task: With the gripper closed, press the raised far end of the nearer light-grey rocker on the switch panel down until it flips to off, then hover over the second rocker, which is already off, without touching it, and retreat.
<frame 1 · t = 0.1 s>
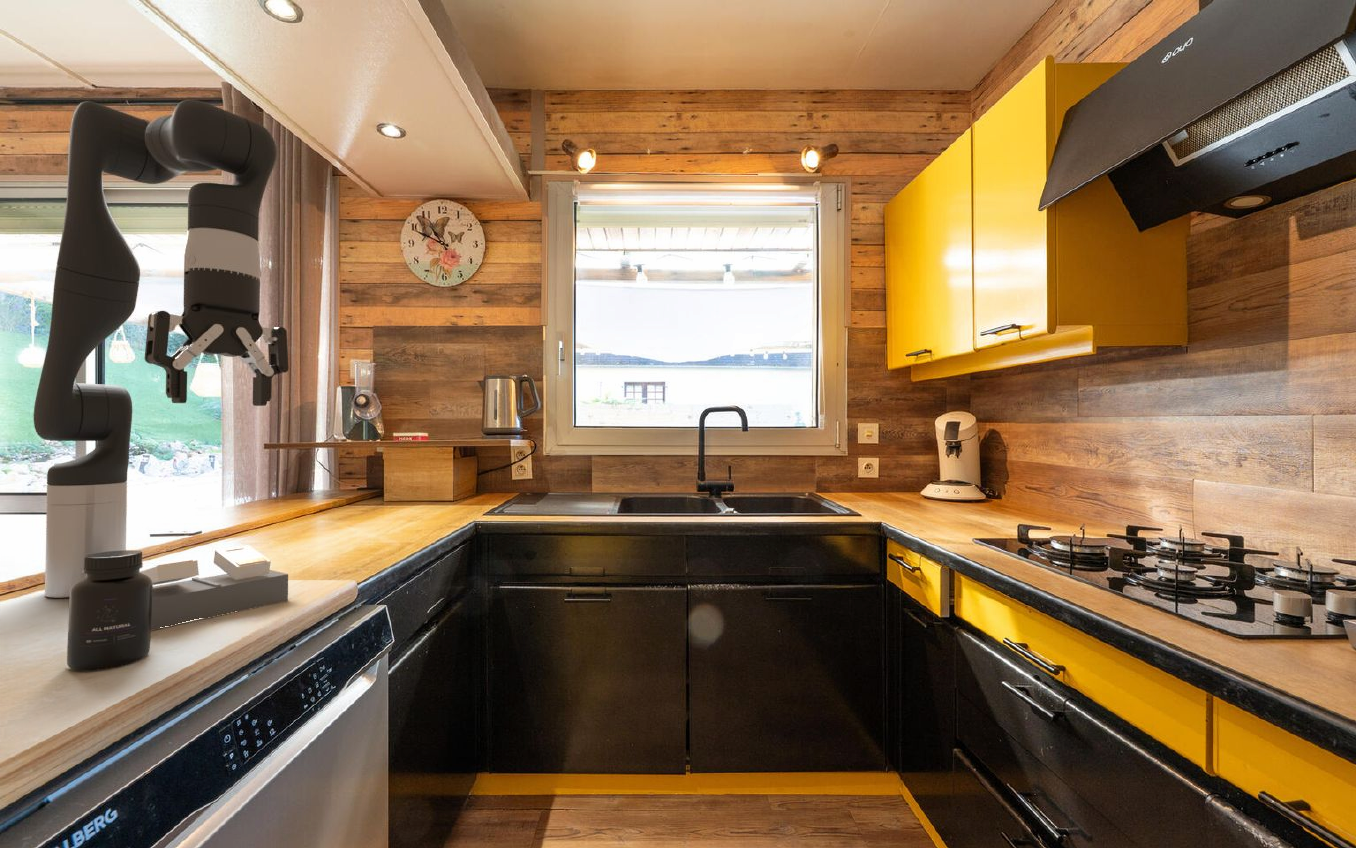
hand: (221, 404, 74), 29 cm above the table, tool pointing down, fingers open, 8 cm apart
switch panel: (205, 611, 86), on the table
supplement bottle: (110, 663, 68), on the table
rocker B: (242, 561, 90), point 6 cm above the table, hinge at 14.0°
rocker A: (167, 573, 82), point 6 cm above the table, hinge at -14.0°
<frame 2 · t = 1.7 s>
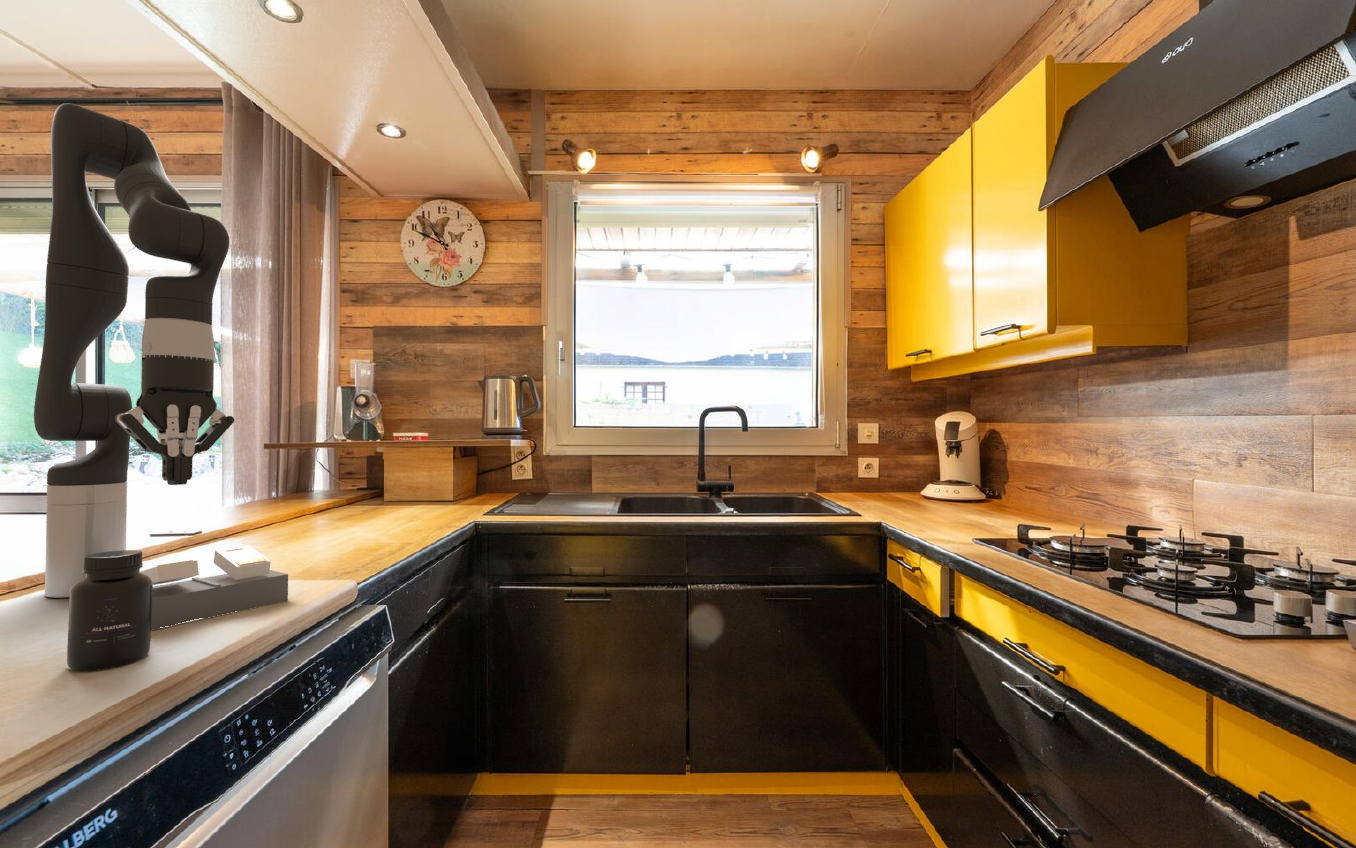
hand: (176, 484, 81), 19 cm above the table, tool pointing down, fingers closed
nothing on the table moved.
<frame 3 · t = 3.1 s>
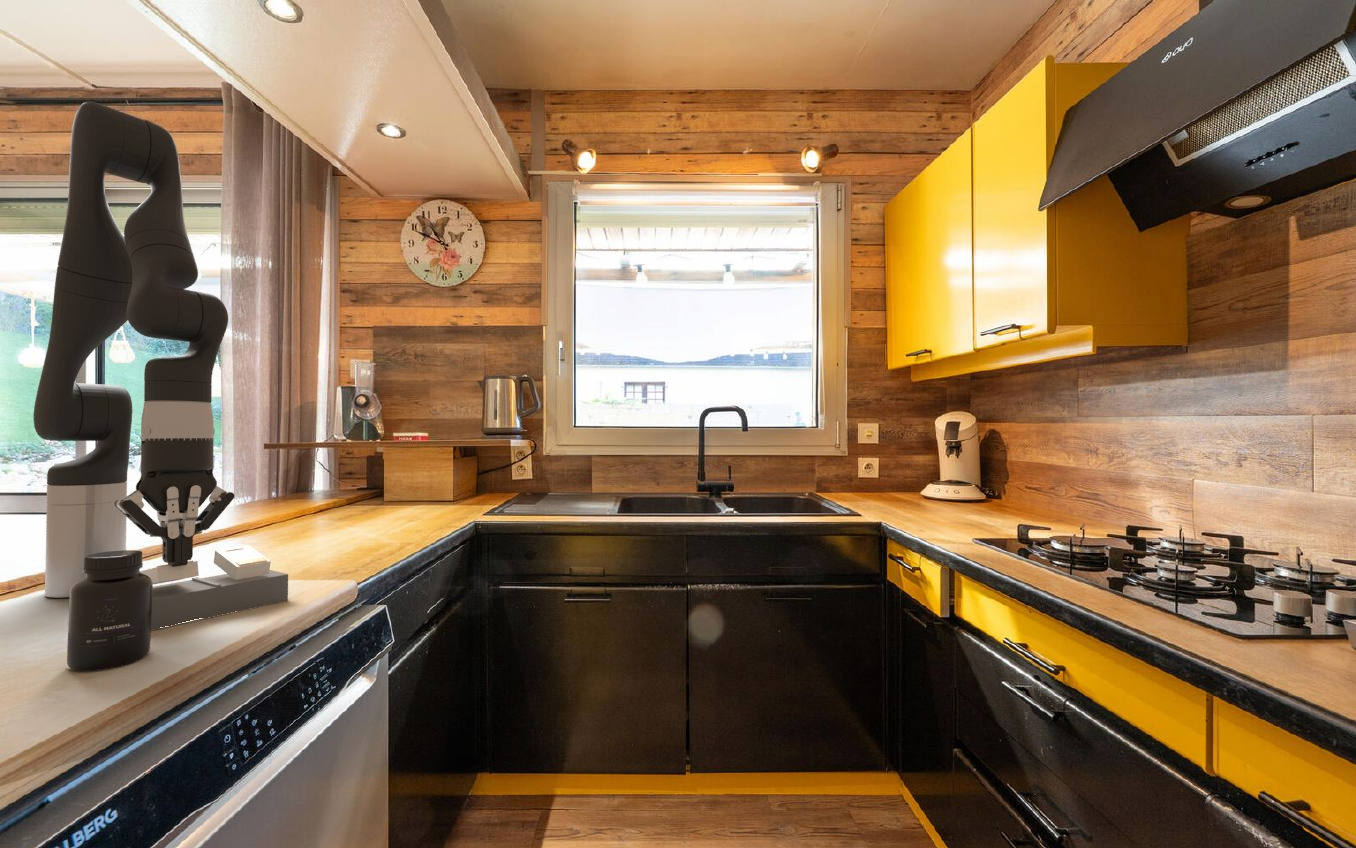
hand: (177, 565, 81), 8 cm above the table, tool pointing down, fingers closed
rocker A: (167, 573, 82), point 6 cm above the table, hinge at -12.6°, touching gripper
everything else where it was.
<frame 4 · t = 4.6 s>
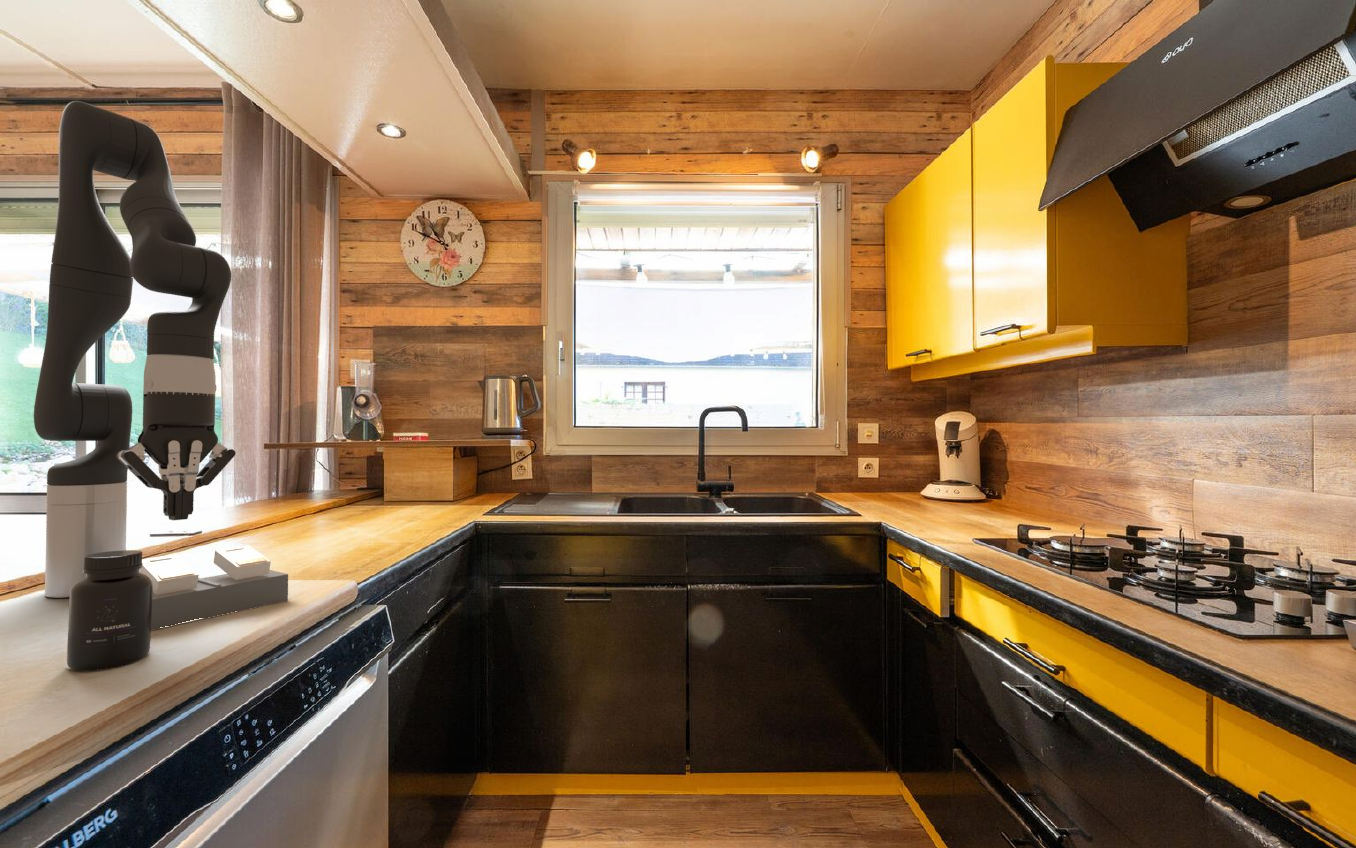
hand: (178, 519, 81), 14 cm above the table, tool pointing down, fingers closed
rocker A: (167, 573, 82), point 6 cm above the table, hinge at 16.8°
everything else where it was.
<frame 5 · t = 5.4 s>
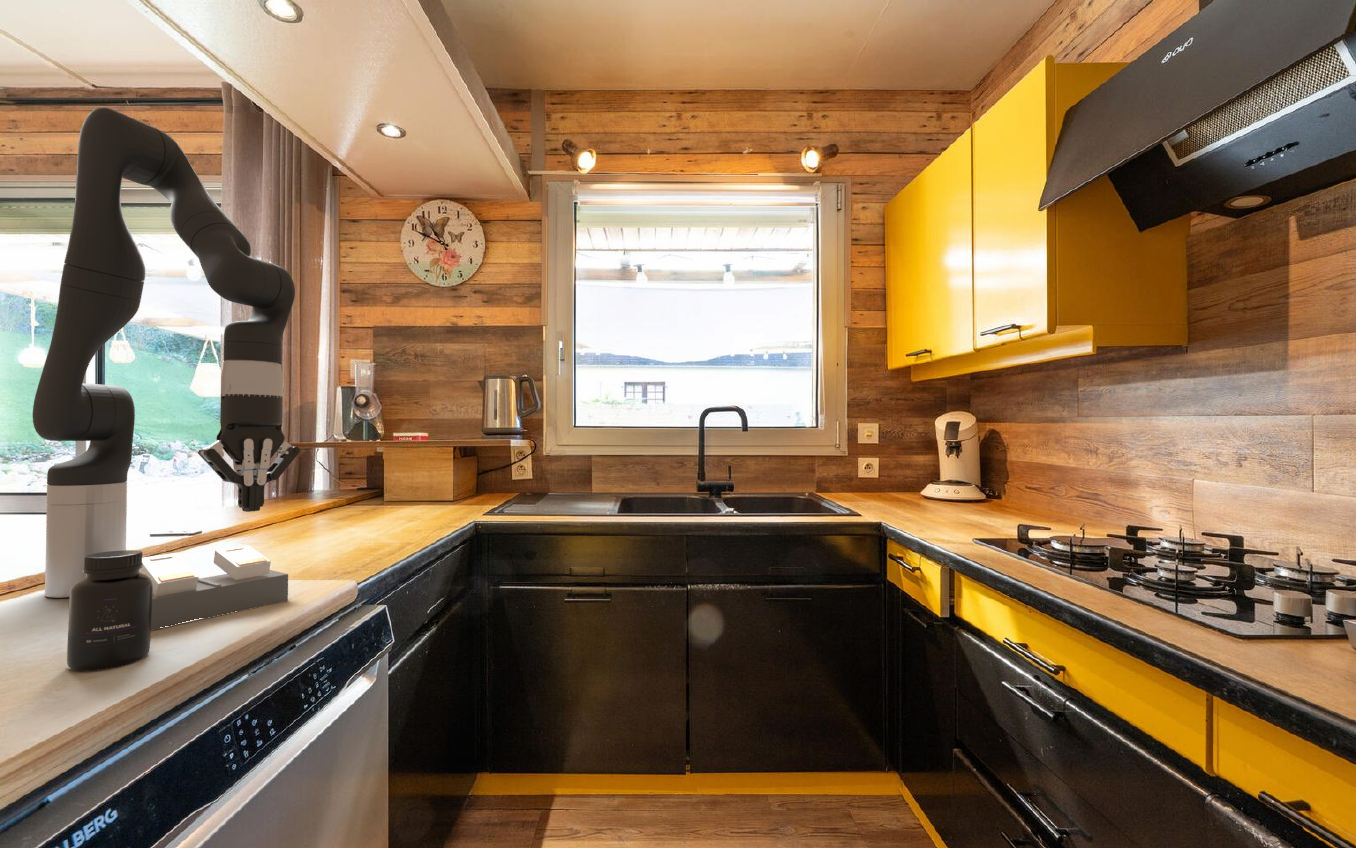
hand: (250, 510, 89), 14 cm above the table, tool pointing down, fingers closed
rocker A: (167, 573, 82), point 6 cm above the table, hinge at 21.7°, touching switch panel
everything else where it was.
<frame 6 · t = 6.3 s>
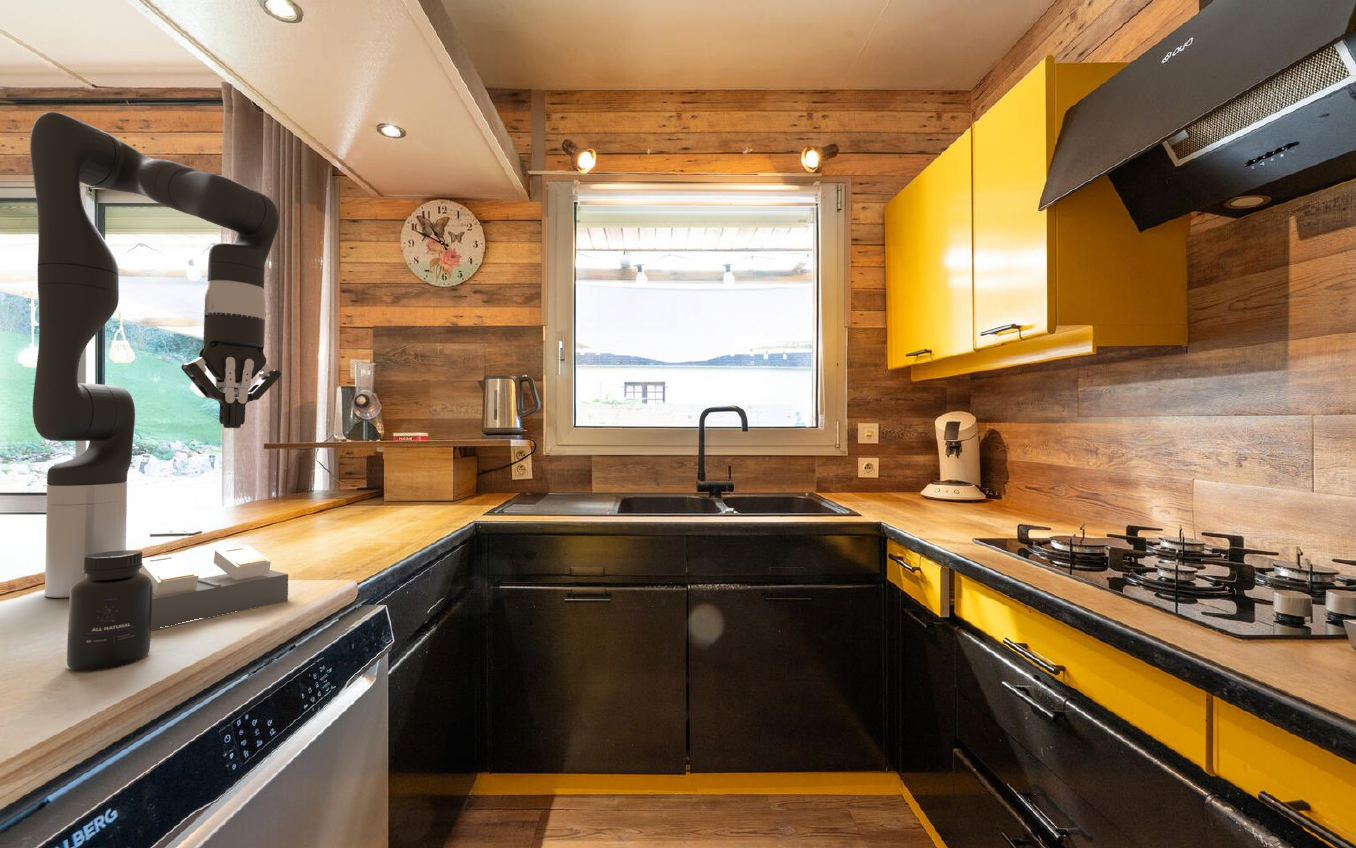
hand: (231, 427, 92), 26 cm above the table, tool pointing down, fingers closed
rocker A: (167, 573, 82), point 6 cm above the table, hinge at 19.2°
everything else where it was.
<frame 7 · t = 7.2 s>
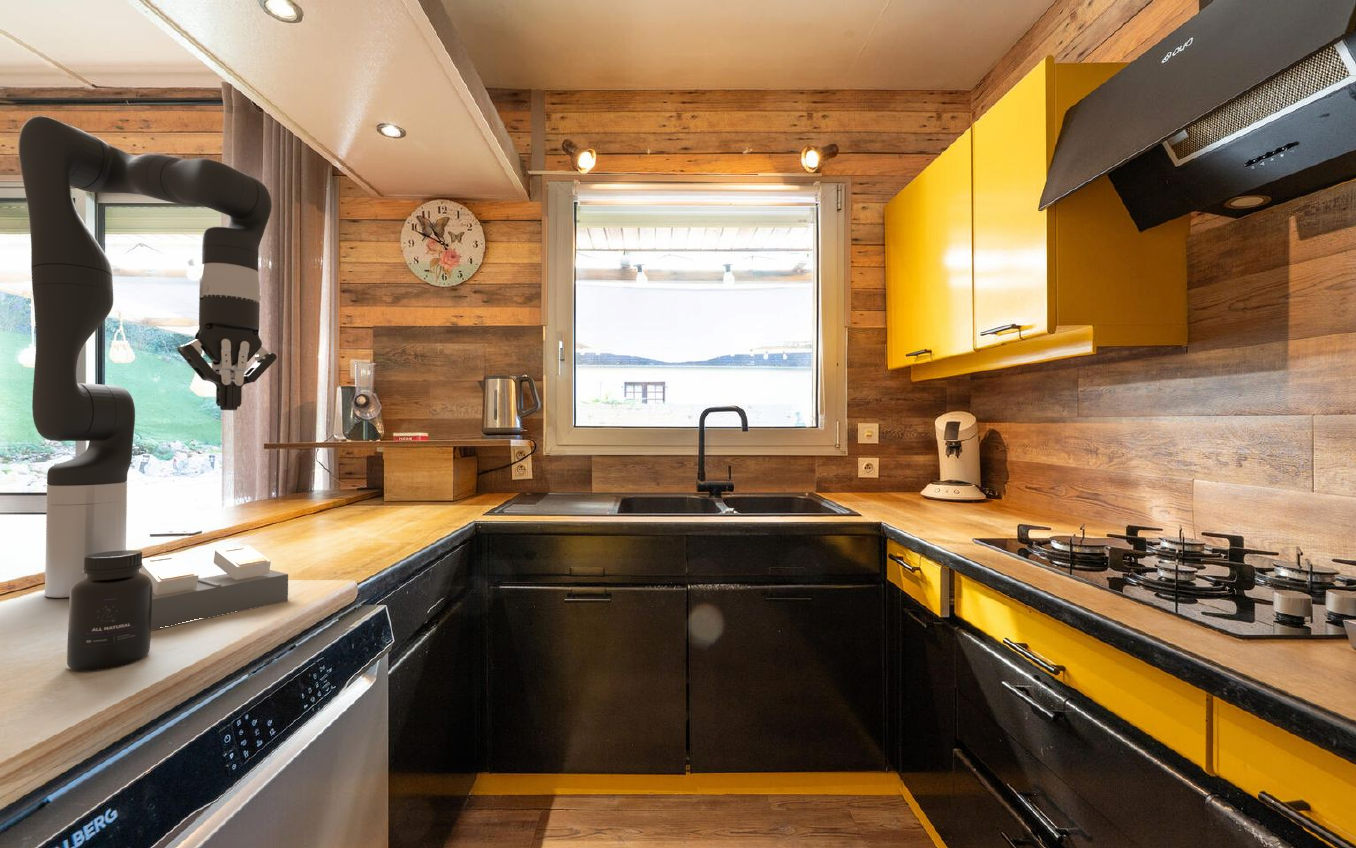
hand: (228, 410, 93), 29 cm above the table, tool pointing down, fingers closed
rocker A: (167, 573, 82), point 6 cm above the table, hinge at 17.9°
everything else where it was.
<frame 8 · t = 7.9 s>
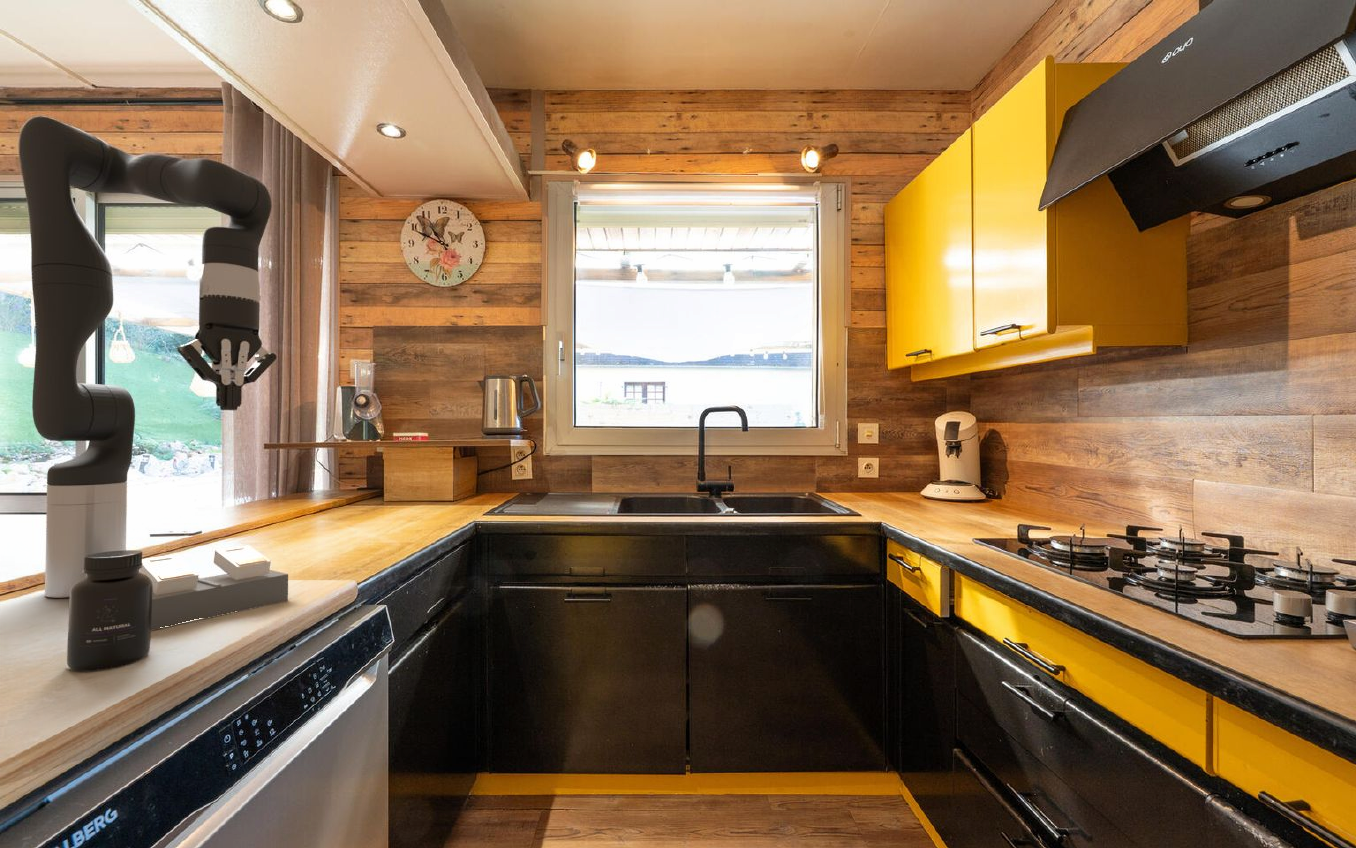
hand: (228, 410, 93), 29 cm above the table, tool pointing down, fingers closed
rocker A: (167, 573, 82), point 6 cm above the table, hinge at 17.4°
everything else where it was.
at the end: rocker A at +17° (first picture: -14°); rocker B at +14° (first picture: +14°) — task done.
